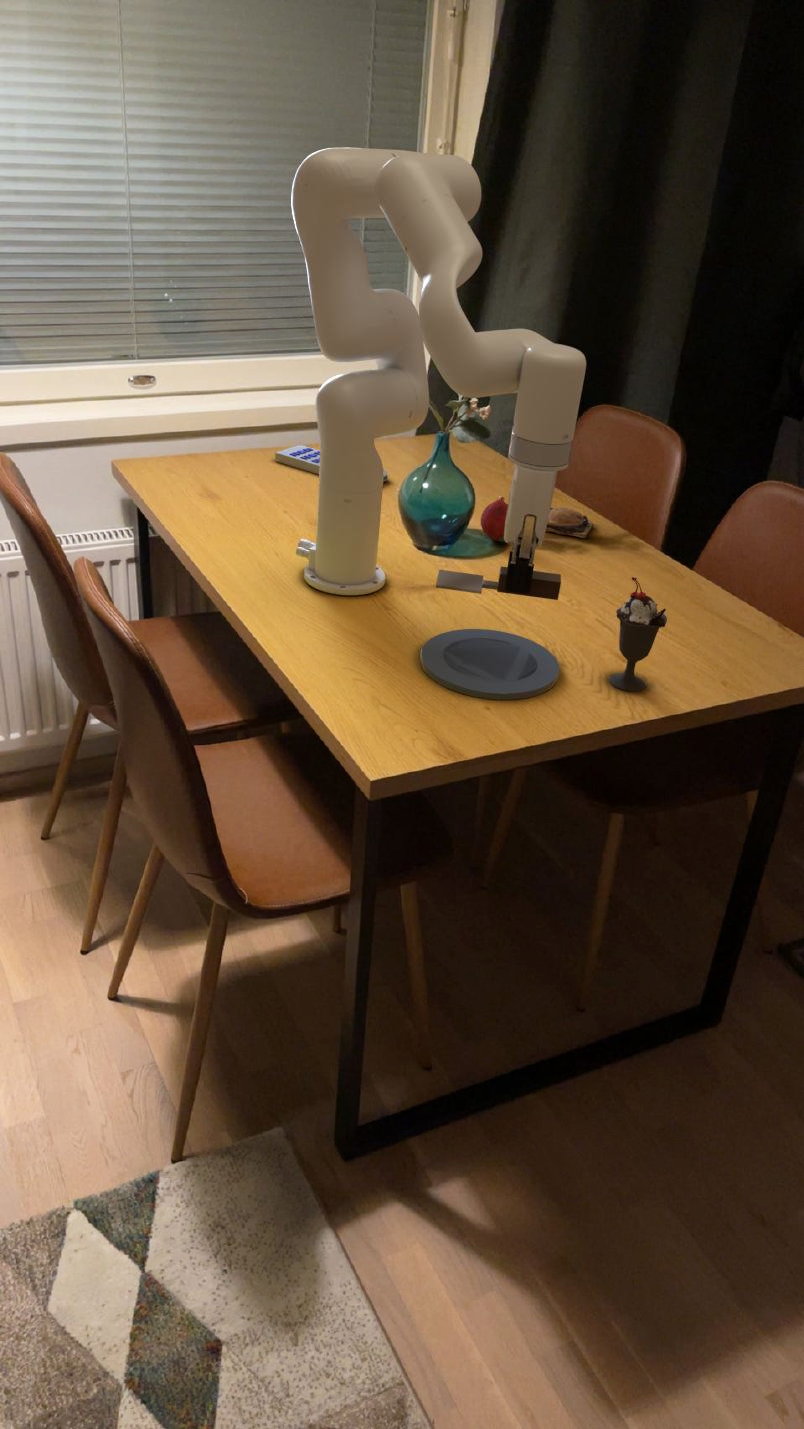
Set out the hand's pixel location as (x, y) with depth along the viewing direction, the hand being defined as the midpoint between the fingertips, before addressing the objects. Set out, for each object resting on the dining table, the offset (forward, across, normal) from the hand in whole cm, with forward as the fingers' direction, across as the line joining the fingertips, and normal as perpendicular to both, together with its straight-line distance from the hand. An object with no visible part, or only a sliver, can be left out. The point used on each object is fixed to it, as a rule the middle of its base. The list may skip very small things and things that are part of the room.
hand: (517, 585), depth 148 cm
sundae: (+12, 0, +17) cm, 21 cm away
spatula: (+1, 0, -2) cm, 3 cm away
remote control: (+14, -75, -36) cm, 85 cm away
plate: (+12, 0, -2) cm, 12 cm away
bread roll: (+13, -58, +9) cm, 60 cm away
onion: (+13, -47, -3) cm, 49 cm away
